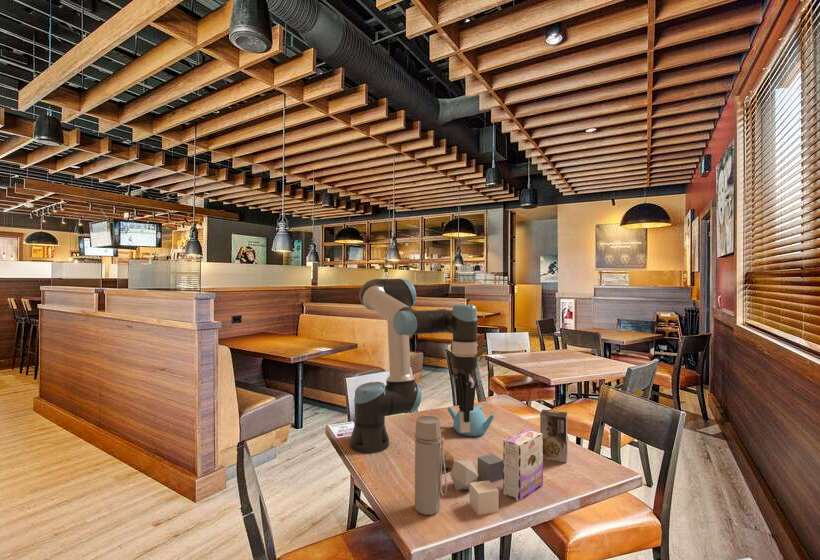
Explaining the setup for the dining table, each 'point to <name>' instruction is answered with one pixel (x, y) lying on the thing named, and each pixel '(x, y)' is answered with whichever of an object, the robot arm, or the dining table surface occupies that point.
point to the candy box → (522, 464)
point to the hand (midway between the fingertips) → (464, 431)
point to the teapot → (472, 421)
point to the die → (463, 474)
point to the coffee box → (554, 435)
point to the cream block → (484, 497)
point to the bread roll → (446, 461)
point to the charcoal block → (490, 468)
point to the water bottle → (428, 465)
